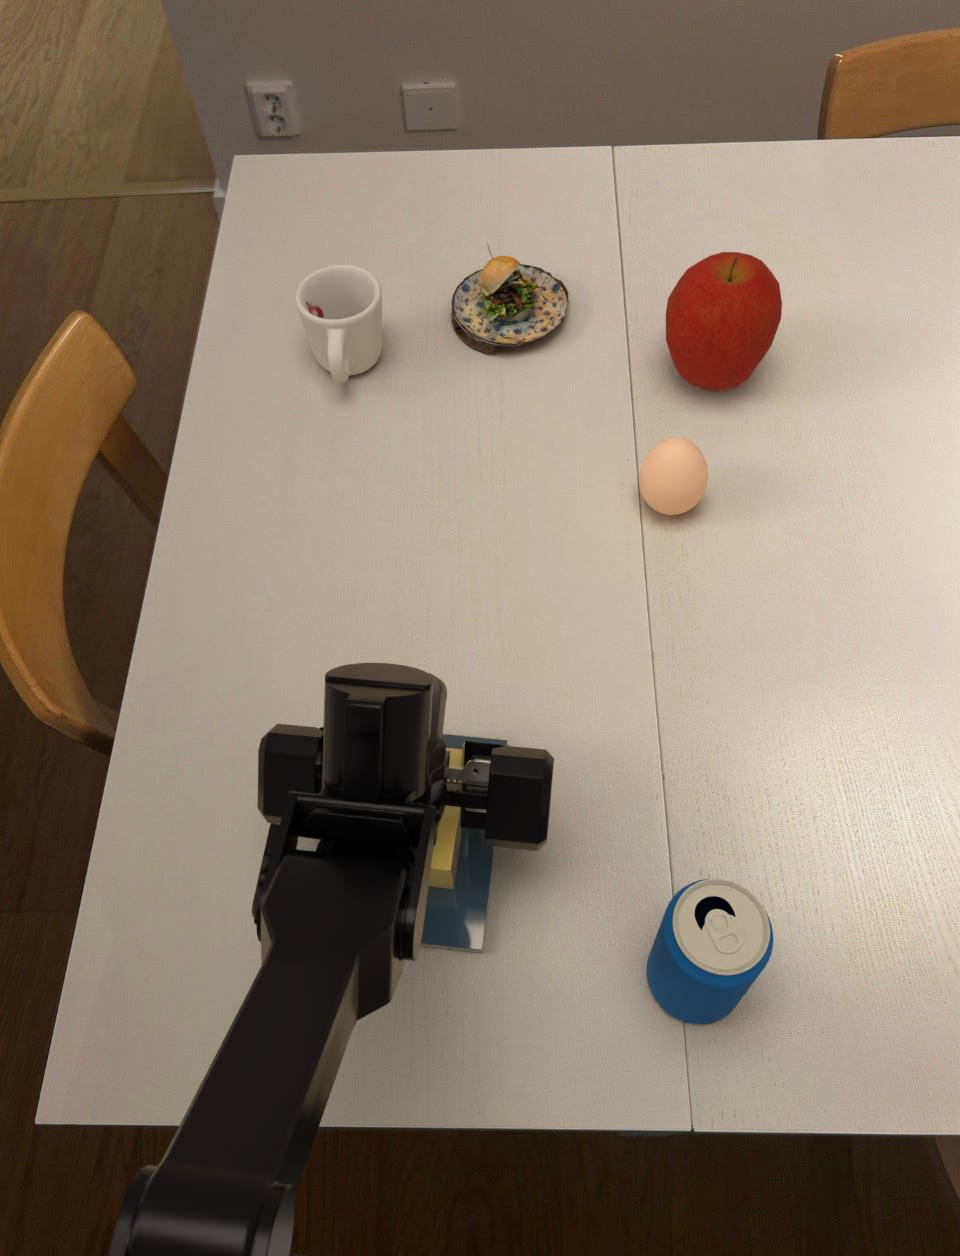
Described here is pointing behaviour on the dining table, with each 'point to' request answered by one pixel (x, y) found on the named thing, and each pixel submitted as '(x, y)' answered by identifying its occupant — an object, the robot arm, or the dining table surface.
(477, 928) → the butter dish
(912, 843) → the dining table surface
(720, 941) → the beverage can
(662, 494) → the egg
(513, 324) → the burger
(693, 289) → the apple
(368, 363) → the cup
